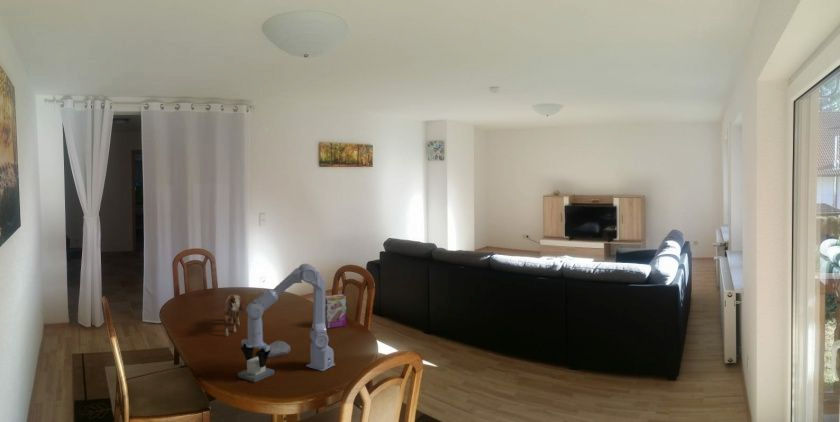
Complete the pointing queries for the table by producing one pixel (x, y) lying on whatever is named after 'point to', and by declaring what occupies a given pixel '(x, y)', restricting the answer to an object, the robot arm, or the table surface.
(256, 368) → the cube
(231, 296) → the brown animal figure
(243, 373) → the slate tile
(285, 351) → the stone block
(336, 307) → the candy bar box
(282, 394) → the table surface
